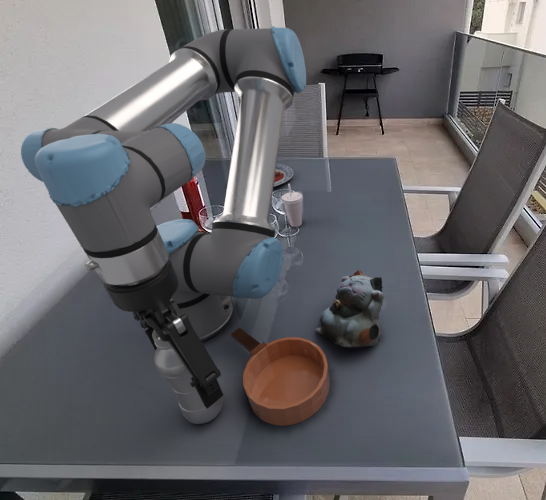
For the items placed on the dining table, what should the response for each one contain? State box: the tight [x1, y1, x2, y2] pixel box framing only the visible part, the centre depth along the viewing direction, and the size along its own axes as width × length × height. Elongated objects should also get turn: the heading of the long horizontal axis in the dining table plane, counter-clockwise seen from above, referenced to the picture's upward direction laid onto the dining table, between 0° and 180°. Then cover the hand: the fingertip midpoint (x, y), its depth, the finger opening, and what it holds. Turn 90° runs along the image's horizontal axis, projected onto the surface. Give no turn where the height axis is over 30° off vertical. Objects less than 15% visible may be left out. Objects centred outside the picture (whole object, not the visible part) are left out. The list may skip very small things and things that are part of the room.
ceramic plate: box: [273, 163, 294, 188], centre depth 140 cm, size 26×26×3 cm
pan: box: [242, 336, 331, 427], centre depth 62 cm, size 14×14×5 cm
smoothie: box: [281, 183, 304, 228], centre depth 107 cm, size 6×6×14 cm
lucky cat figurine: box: [315, 269, 385, 348], centre depth 71 cm, size 15×12×14 cm
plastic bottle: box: [152, 330, 224, 425], centre depth 54 cm, size 6×7×20 cm
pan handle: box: [230, 327, 268, 358], centre depth 67 cm, size 8×3×3 cm, turn 50°
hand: (189, 375), depth 55 cm, fingers open, 13 cm apart
